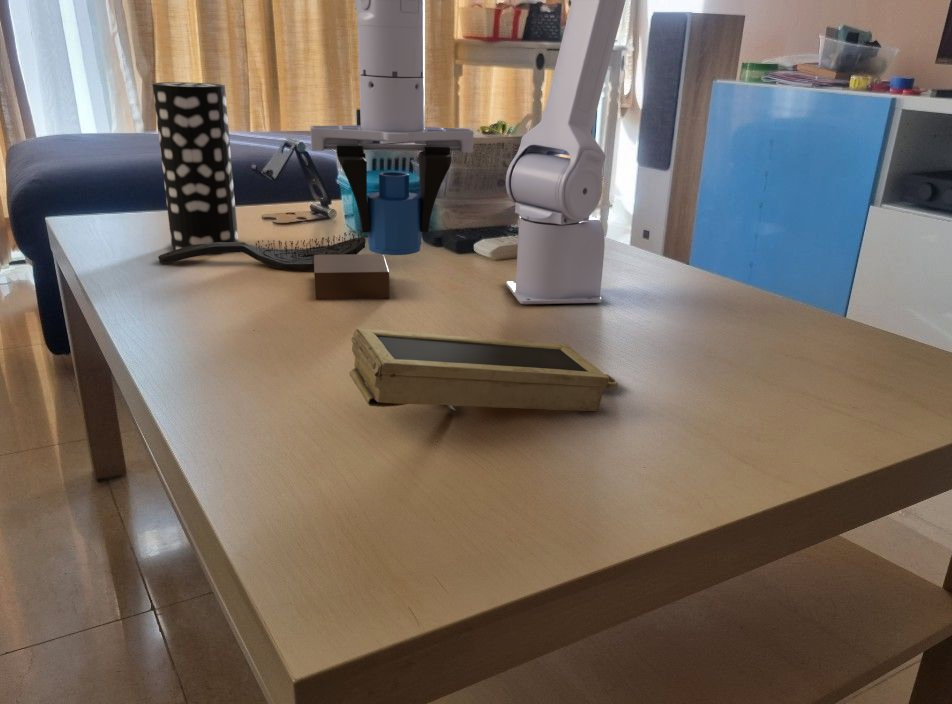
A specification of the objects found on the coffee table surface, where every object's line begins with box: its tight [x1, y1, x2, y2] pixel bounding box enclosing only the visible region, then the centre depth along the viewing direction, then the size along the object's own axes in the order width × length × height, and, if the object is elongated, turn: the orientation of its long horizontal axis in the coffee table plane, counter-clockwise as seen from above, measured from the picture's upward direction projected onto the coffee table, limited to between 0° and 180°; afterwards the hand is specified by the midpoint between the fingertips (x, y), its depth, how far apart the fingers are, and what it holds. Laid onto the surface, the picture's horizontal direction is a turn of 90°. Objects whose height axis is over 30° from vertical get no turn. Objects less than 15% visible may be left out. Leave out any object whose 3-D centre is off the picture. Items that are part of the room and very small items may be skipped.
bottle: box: [367, 171, 422, 256], centre depth 78 cm, size 5×5×7 cm
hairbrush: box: [158, 228, 367, 272], centre depth 103 cm, size 8×4×25 cm
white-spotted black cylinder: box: [152, 81, 239, 255], centre depth 106 cm, size 8×8×20 cm
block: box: [313, 253, 391, 301], centre depth 95 cm, size 8×8×3 cm
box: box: [349, 327, 619, 412], centre depth 66 cm, size 8×22×5 cm, turn 114°
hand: (394, 230), depth 79 cm, fingers closed on bottle, 5 cm apart
